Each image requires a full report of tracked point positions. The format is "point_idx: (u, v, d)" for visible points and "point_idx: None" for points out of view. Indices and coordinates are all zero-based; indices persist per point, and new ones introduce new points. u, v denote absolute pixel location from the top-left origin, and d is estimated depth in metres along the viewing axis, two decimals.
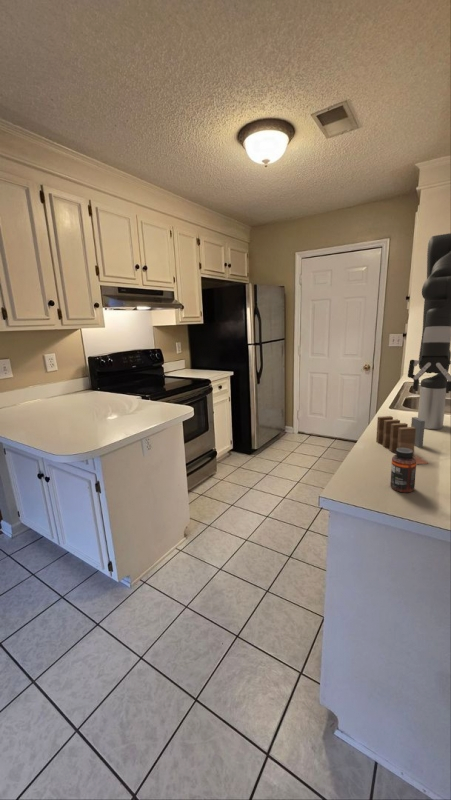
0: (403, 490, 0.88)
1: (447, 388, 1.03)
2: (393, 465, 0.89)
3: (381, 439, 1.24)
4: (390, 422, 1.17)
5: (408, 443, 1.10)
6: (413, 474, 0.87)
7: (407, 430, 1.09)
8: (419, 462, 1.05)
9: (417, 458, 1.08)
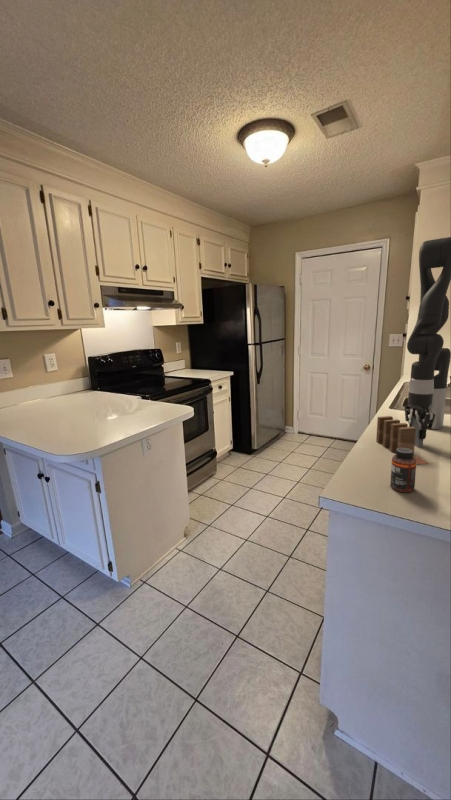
0: (403, 490, 0.88)
1: (419, 435, 1.16)
2: (393, 464, 0.89)
3: (381, 440, 1.24)
4: (390, 422, 1.17)
5: (408, 443, 1.10)
6: (413, 474, 0.87)
7: (407, 430, 1.09)
8: (419, 462, 1.05)
9: (417, 458, 1.08)
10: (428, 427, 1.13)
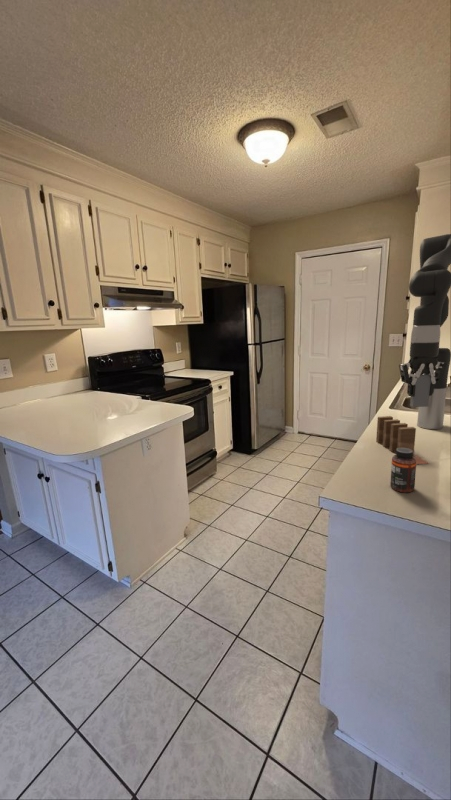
0: (403, 490, 0.88)
1: (431, 391, 1.01)
2: (393, 465, 0.89)
3: (381, 440, 1.24)
4: (390, 422, 1.17)
5: (408, 443, 1.10)
6: (413, 474, 0.87)
7: (407, 430, 1.09)
8: (419, 462, 1.05)
9: (417, 458, 1.08)
10: None
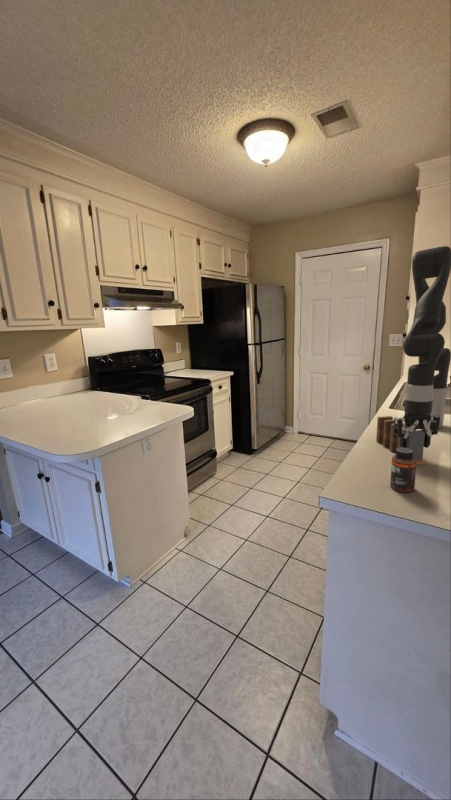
0: (403, 490, 0.88)
1: (428, 443, 1.05)
2: (393, 465, 0.89)
3: (381, 439, 1.24)
4: (390, 422, 1.17)
5: None
6: (413, 474, 0.87)
7: None
8: (419, 462, 1.05)
9: None
10: None
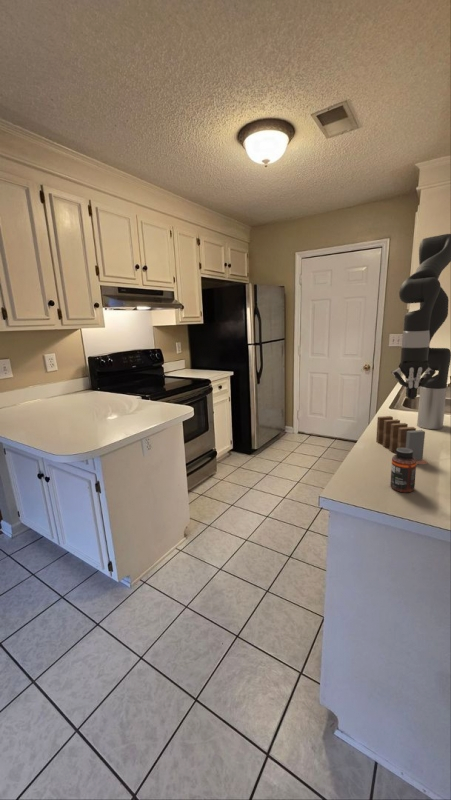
0: (403, 490, 0.88)
1: (414, 395, 1.05)
2: (393, 464, 0.89)
3: (381, 439, 1.24)
4: (390, 422, 1.17)
5: None
6: (413, 474, 0.87)
7: (407, 430, 1.09)
8: (419, 462, 1.05)
9: None
10: None
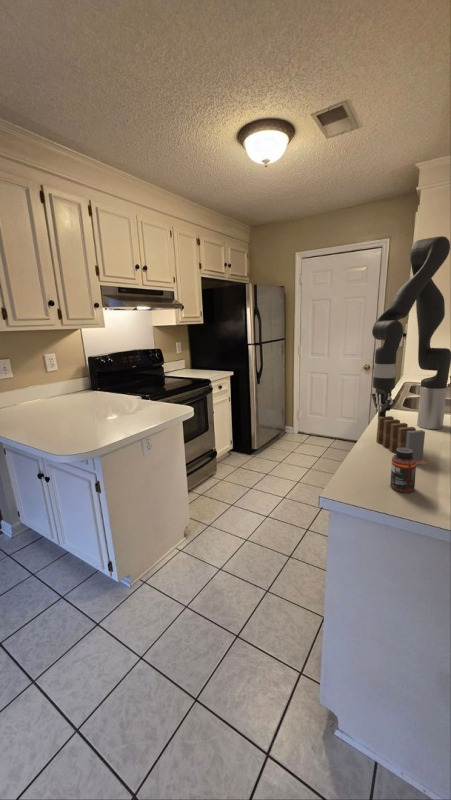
0: (403, 490, 0.88)
1: (379, 416, 1.24)
2: (393, 465, 0.89)
3: (381, 440, 1.24)
4: (390, 422, 1.17)
5: None
6: (413, 474, 0.87)
7: (407, 430, 1.09)
8: (419, 462, 1.05)
9: None
10: (387, 409, 1.21)
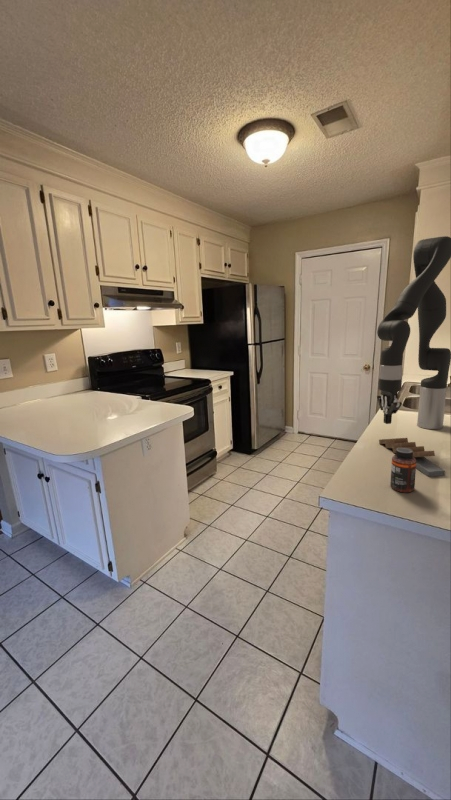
0: (403, 490, 0.88)
1: (385, 419, 1.21)
2: (393, 464, 0.89)
3: None
4: None
5: None
6: (413, 474, 0.87)
7: (424, 456, 1.01)
8: None
9: None
10: (393, 411, 1.17)
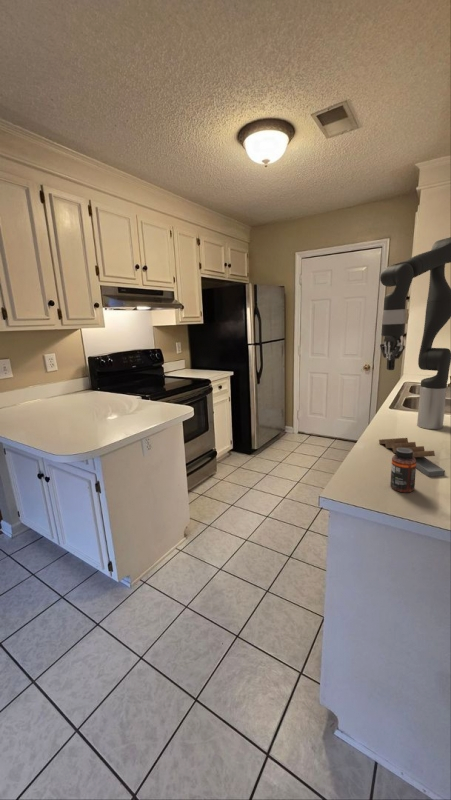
0: (403, 490, 0.88)
1: (388, 366, 1.23)
2: (393, 464, 0.89)
3: None
4: None
5: None
6: (413, 474, 0.87)
7: (424, 456, 1.01)
8: None
9: None
10: (396, 356, 1.19)
